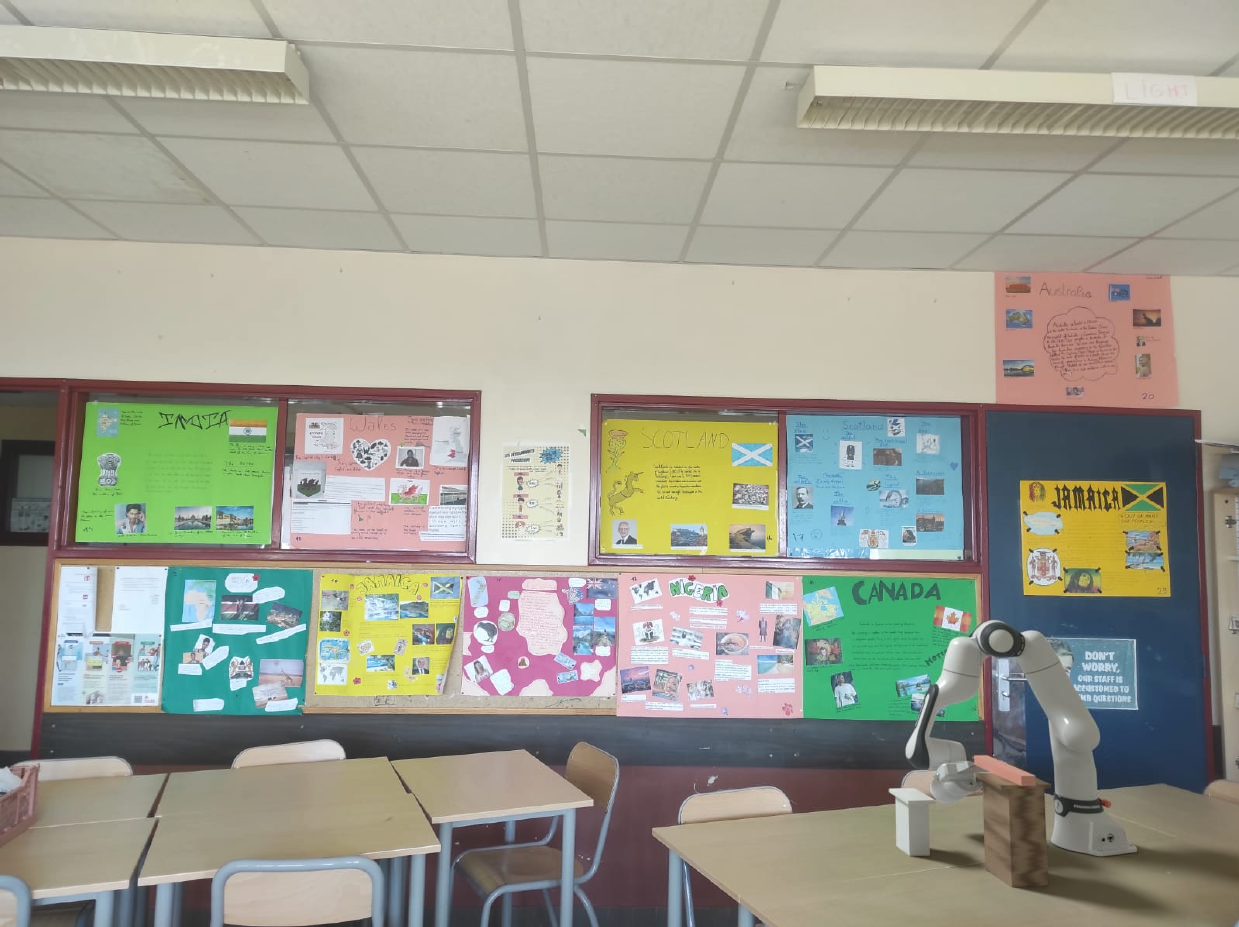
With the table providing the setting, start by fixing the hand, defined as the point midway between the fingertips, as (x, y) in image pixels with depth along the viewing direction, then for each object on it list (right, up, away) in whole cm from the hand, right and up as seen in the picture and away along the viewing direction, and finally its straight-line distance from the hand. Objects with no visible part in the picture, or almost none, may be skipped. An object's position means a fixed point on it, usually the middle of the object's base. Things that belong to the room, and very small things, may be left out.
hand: (985, 763), depth 231 cm
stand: (-19, -26, +3) cm, 33 cm away
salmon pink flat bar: (+1, 0, -8) cm, 9 cm away
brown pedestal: (+1, -24, -15) cm, 29 cm away
